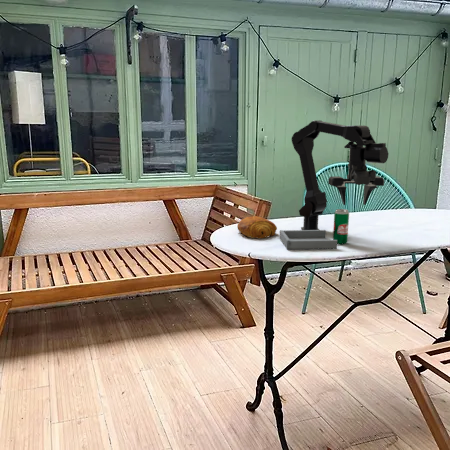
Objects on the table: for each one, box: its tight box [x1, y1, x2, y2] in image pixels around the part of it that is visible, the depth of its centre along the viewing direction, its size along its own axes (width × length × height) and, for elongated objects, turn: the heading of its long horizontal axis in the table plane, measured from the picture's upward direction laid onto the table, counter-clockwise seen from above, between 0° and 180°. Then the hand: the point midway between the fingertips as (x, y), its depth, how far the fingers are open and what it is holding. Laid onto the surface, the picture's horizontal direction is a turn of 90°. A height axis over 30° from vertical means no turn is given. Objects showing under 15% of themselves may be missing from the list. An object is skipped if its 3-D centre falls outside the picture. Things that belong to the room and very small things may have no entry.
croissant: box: [237, 215, 278, 239], centre depth 176 cm, size 14×16×8 cm
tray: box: [278, 229, 338, 251], centre depth 163 cm, size 16×17×3 cm
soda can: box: [332, 208, 350, 245], centre depth 163 cm, size 5×5×12 cm
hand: (354, 204), depth 166 cm, fingers open, 7 cm apart
